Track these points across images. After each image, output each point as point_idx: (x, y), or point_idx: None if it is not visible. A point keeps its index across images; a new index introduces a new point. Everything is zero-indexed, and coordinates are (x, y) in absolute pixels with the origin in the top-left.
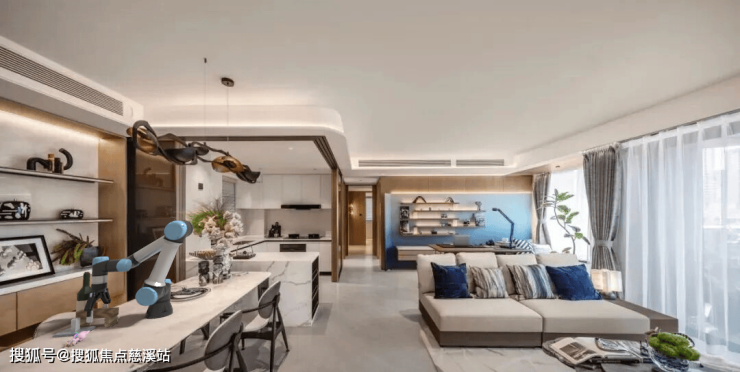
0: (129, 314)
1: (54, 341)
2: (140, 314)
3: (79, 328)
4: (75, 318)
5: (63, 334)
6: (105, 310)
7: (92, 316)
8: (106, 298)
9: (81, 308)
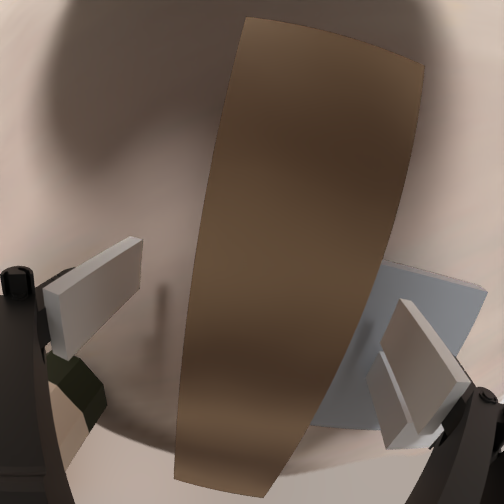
0: (34, 119)
1: (481, 378)
2: (73, 27)
3: (383, 355)
4: (415, 438)
5: None
6: (390, 215)
7: (429, 331)
8: (1, 384)
9: (66, 448)
